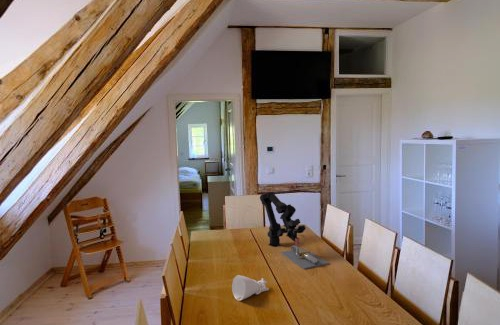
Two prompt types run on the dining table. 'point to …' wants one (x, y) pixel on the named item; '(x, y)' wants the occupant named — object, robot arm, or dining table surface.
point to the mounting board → (304, 260)
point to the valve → (305, 255)
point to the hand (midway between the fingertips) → (296, 242)
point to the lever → (297, 247)
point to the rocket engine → (247, 287)
